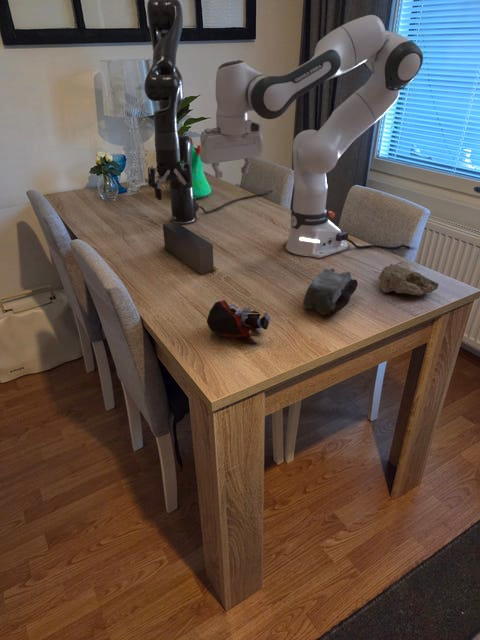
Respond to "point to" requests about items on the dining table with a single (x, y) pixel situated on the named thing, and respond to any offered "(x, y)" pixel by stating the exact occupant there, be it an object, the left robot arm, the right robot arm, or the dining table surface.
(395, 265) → the artifact
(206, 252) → the bar
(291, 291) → the dining table surface
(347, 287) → the dark grey rock
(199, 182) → the toy
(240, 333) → the toy
